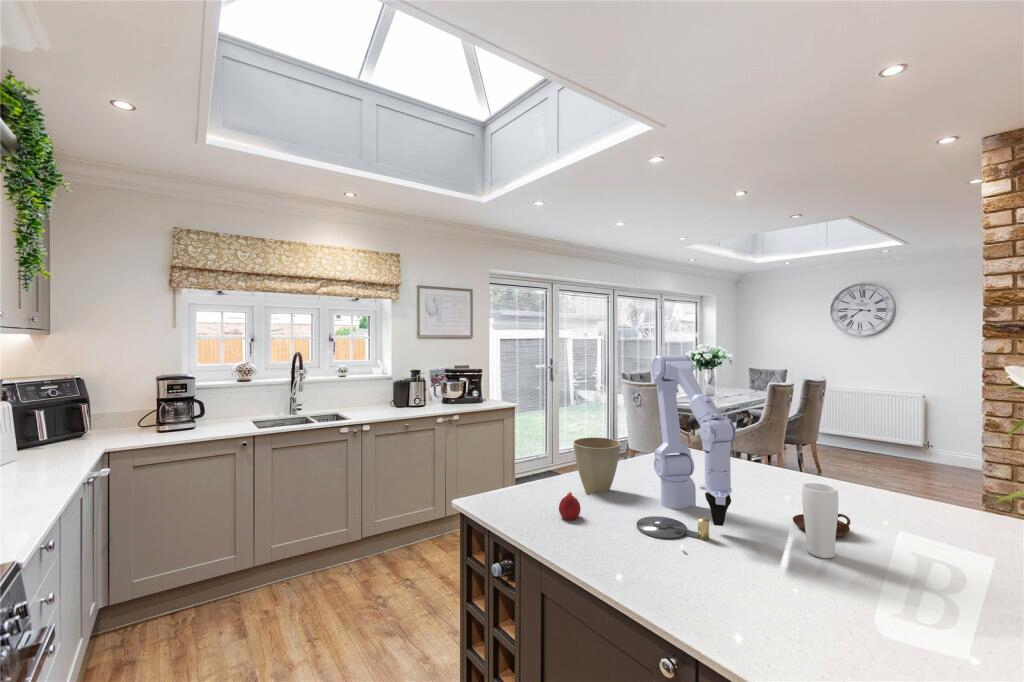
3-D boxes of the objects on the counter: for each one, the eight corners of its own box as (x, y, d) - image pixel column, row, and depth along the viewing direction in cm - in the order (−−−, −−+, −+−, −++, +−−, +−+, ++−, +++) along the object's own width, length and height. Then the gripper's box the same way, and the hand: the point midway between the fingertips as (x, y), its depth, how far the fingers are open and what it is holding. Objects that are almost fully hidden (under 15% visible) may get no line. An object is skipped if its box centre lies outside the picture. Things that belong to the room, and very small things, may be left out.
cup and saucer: (843, 525, 121) (843, 501, 120) (855, 544, 110) (855, 518, 110) (790, 518, 126) (789, 495, 126) (796, 536, 115) (795, 511, 115)
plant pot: (565, 494, 147) (564, 444, 147) (586, 482, 159) (585, 435, 159) (610, 503, 138) (609, 450, 138) (628, 489, 150) (627, 440, 150)
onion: (580, 527, 121) (579, 496, 121) (557, 525, 122) (557, 495, 122) (581, 518, 127) (580, 489, 127) (560, 517, 128) (559, 488, 128)
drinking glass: (833, 549, 107) (832, 484, 107) (843, 563, 100) (842, 493, 100) (799, 545, 109) (798, 481, 109) (807, 558, 103) (806, 490, 102)
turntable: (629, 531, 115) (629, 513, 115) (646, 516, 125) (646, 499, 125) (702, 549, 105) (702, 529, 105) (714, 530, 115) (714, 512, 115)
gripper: (698, 460, 121) (698, 512, 121) (701, 475, 108) (702, 534, 108) (727, 462, 119) (728, 515, 119) (735, 478, 105) (735, 538, 105)
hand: (718, 524), depth 113 cm, fingers closed
